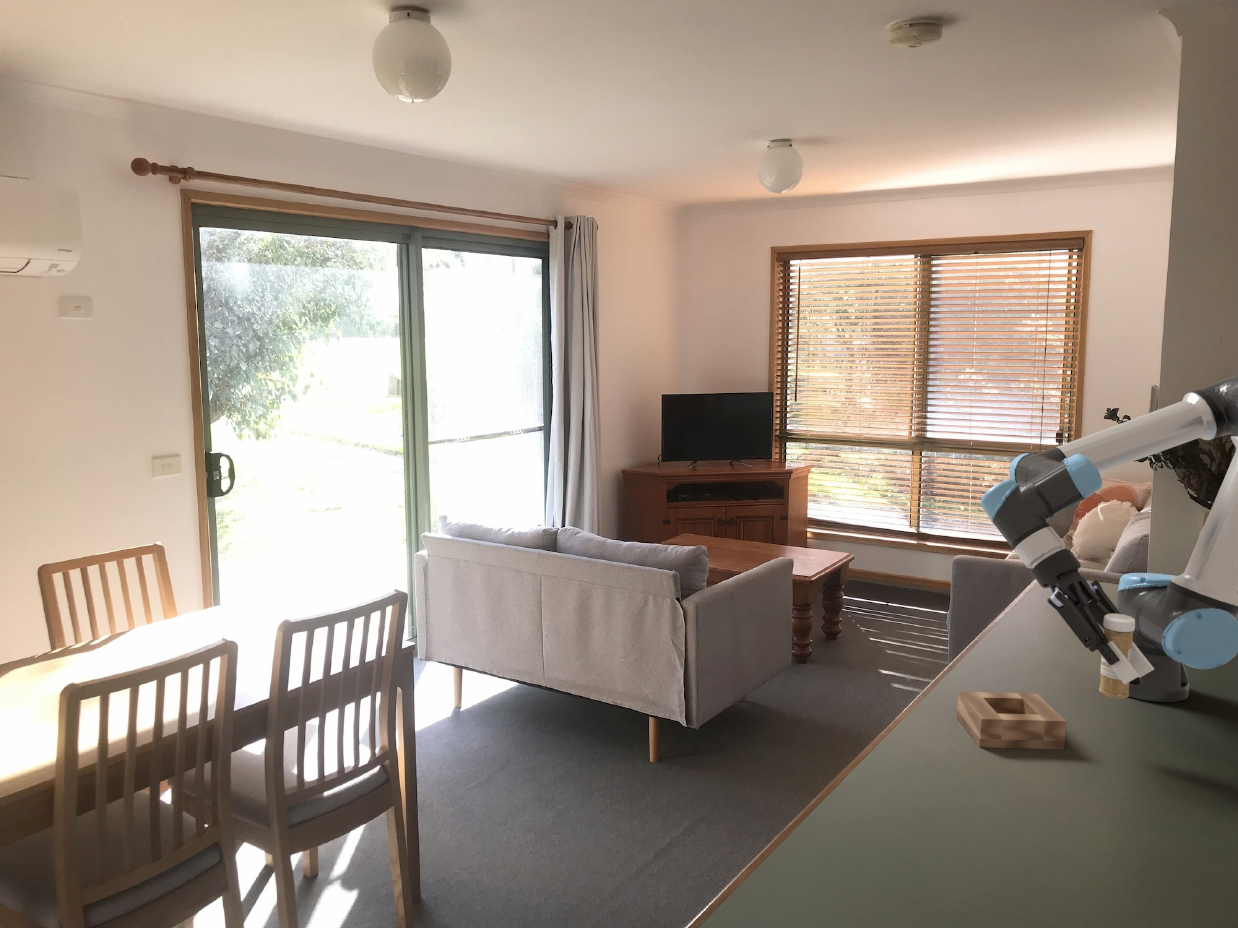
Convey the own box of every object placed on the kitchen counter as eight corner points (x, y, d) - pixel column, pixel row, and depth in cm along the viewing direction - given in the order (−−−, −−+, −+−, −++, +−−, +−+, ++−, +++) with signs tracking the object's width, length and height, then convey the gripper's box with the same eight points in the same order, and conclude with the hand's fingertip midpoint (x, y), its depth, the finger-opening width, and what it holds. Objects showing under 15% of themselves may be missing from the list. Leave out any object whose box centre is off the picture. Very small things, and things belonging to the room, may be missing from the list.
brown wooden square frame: (1034, 719, 166) (1036, 693, 165) (1063, 749, 154) (1066, 721, 153) (956, 717, 166) (958, 691, 166) (979, 747, 155) (981, 718, 154)
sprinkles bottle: (1095, 694, 153) (1100, 617, 151) (1102, 686, 157) (1107, 610, 155) (1126, 701, 150) (1132, 622, 148) (1132, 693, 154) (1138, 615, 152)
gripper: (1059, 563, 168) (1146, 675, 157) (1005, 578, 158) (1095, 699, 147) (1089, 540, 163) (1182, 654, 152) (1036, 554, 153) (1131, 677, 142)
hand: (1139, 676), depth 150 cm, fingers closed on sprinkles bottle, 4 cm apart
